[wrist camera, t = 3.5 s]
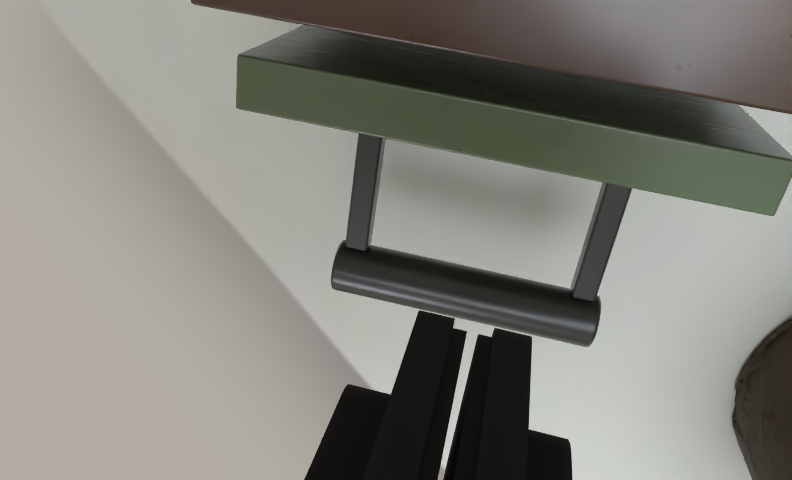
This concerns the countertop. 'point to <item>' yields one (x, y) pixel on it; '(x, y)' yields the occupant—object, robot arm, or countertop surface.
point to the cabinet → (584, 38)
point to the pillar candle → (766, 409)
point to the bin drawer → (506, 158)
